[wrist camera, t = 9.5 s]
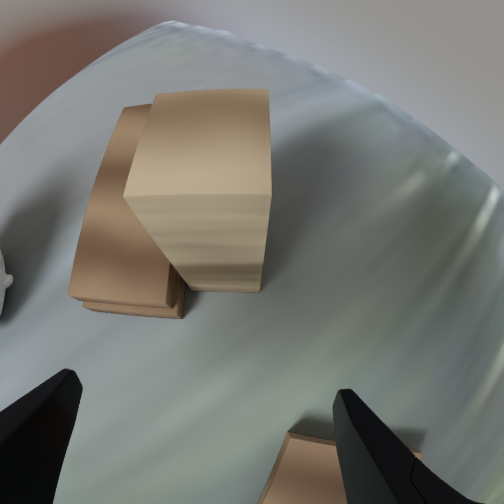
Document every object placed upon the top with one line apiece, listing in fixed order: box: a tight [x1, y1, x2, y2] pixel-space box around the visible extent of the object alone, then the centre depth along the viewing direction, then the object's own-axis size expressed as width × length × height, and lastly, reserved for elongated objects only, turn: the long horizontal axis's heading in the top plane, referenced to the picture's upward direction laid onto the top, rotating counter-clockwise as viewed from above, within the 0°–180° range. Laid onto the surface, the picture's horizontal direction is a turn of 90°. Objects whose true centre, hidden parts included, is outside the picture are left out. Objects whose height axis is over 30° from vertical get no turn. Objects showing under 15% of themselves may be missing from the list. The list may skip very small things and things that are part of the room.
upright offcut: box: [123, 89, 272, 293], centre depth 15 cm, size 5×4×12 cm
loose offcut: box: [257, 432, 423, 504], centre depth 13 cm, size 7×10×2 cm
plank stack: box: [68, 104, 185, 319], centre depth 20 cm, size 17×7×3 cm, turn 179°
